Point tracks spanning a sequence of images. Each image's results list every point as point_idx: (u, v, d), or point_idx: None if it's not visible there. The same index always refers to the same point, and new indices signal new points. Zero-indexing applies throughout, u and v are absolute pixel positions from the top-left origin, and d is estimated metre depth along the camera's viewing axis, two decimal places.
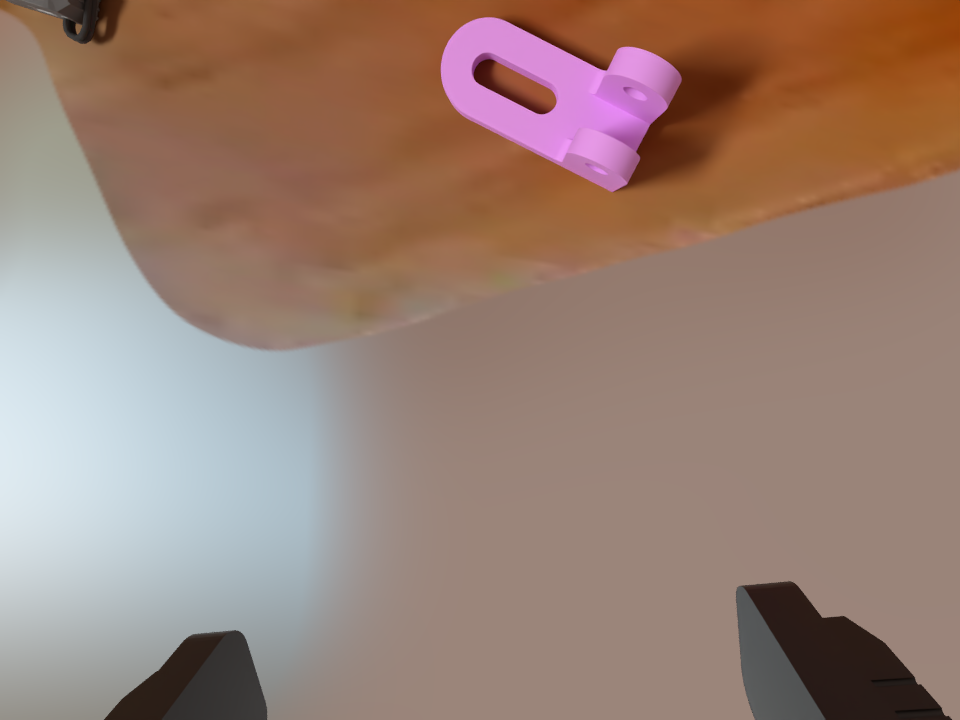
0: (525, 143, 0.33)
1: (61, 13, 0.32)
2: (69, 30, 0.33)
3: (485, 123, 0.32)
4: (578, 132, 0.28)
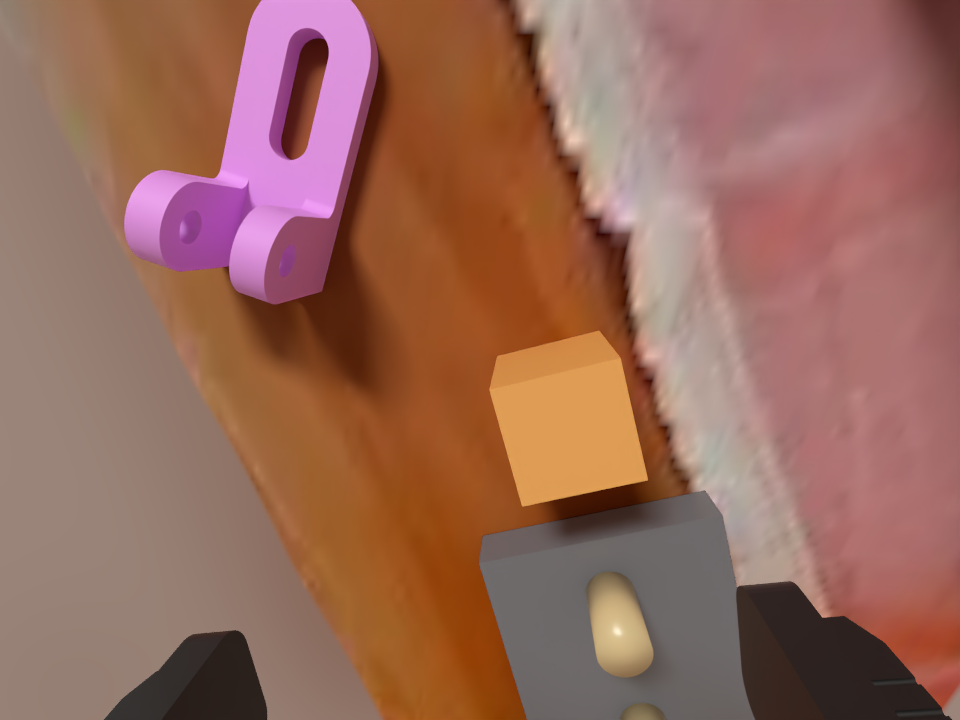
0: (231, 124, 0.24)
1: None
2: None
3: (242, 61, 0.23)
4: (184, 180, 0.21)
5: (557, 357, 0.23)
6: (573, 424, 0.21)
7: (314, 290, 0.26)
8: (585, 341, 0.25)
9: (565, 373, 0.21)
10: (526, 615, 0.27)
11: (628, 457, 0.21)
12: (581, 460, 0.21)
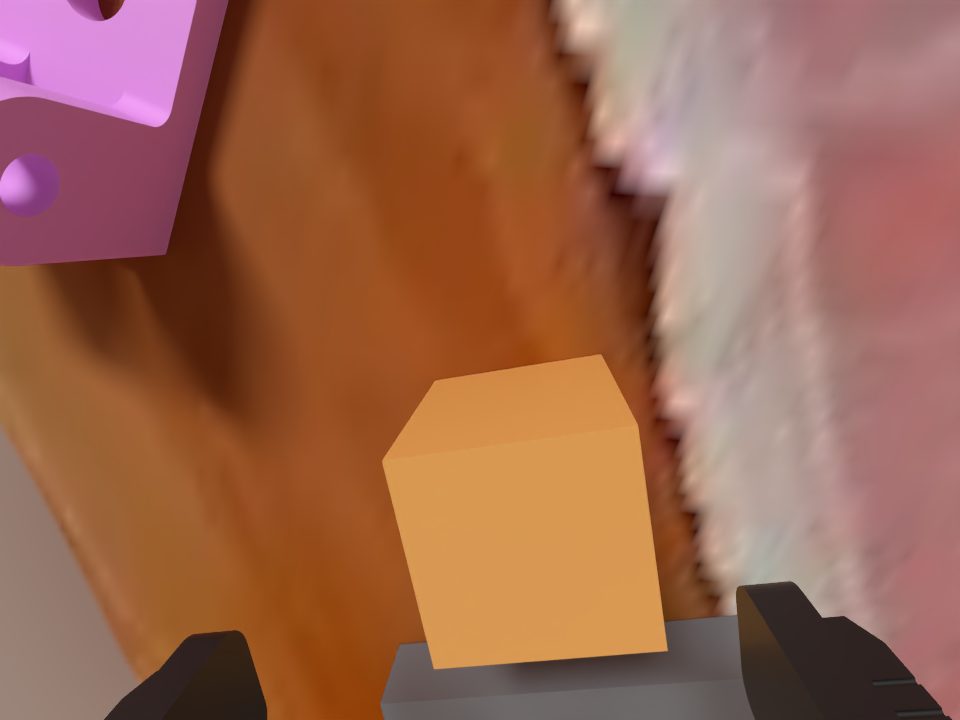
0: None
1: None
2: None
3: None
4: None
5: (523, 400, 0.13)
6: (536, 539, 0.11)
7: (142, 250, 0.16)
8: (576, 372, 0.15)
9: (528, 444, 0.11)
10: None
11: (635, 607, 0.11)
12: (546, 603, 0.11)
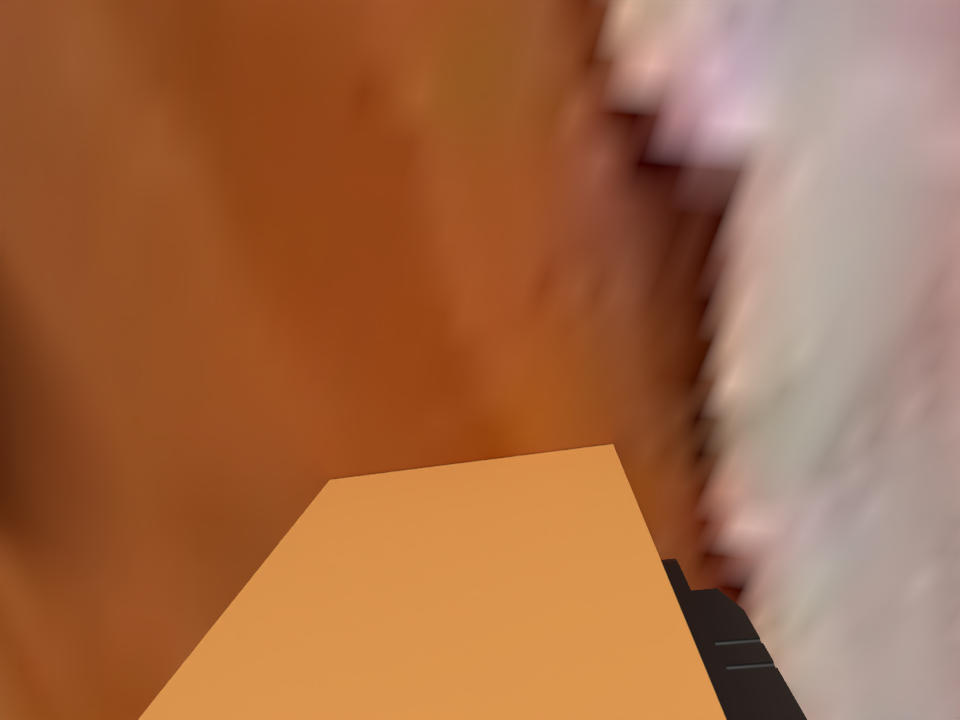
0: None
1: None
2: None
3: None
4: None
5: (460, 580, 0.06)
6: None
7: None
8: (570, 494, 0.08)
9: None
10: None
11: None
12: None
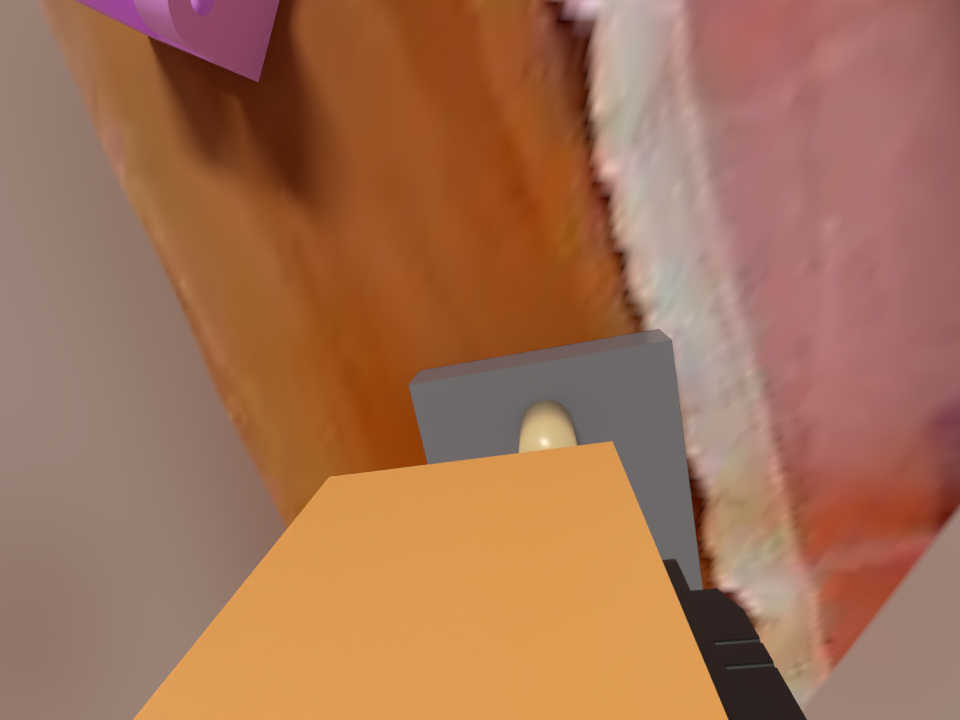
0: None
1: None
2: None
3: None
4: None
5: (460, 576, 0.06)
6: None
7: (247, 71, 0.24)
8: (570, 491, 0.08)
9: None
10: (456, 447, 0.25)
11: None
12: None
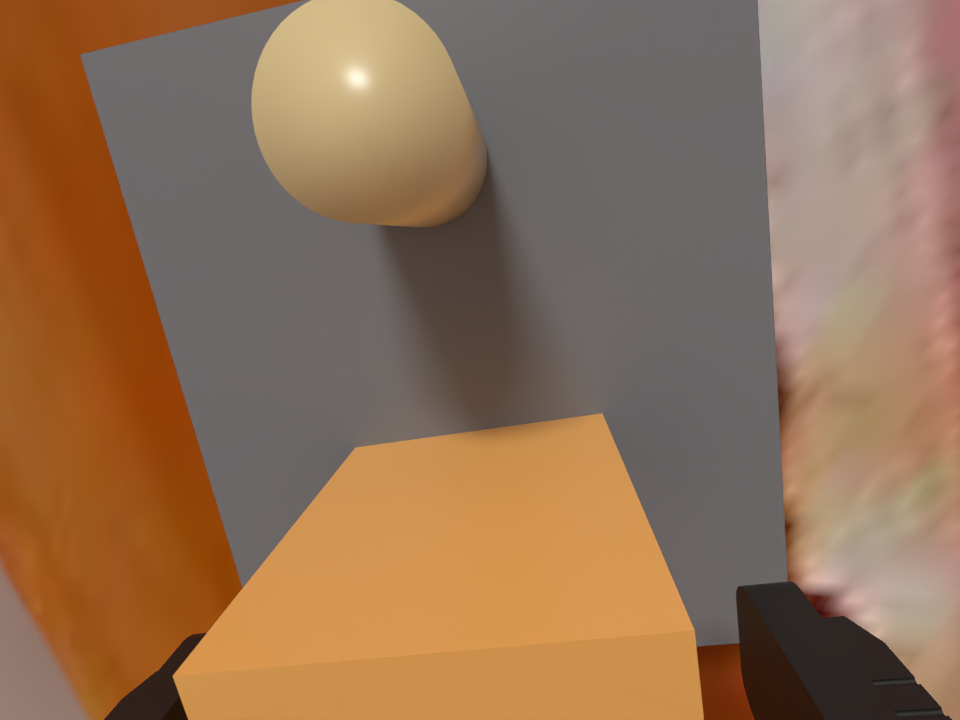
0: None
1: None
2: None
3: None
4: None
5: (474, 513, 0.08)
6: None
7: None
8: (565, 451, 0.09)
9: (463, 657, 0.05)
10: (209, 227, 0.10)
11: None
12: None
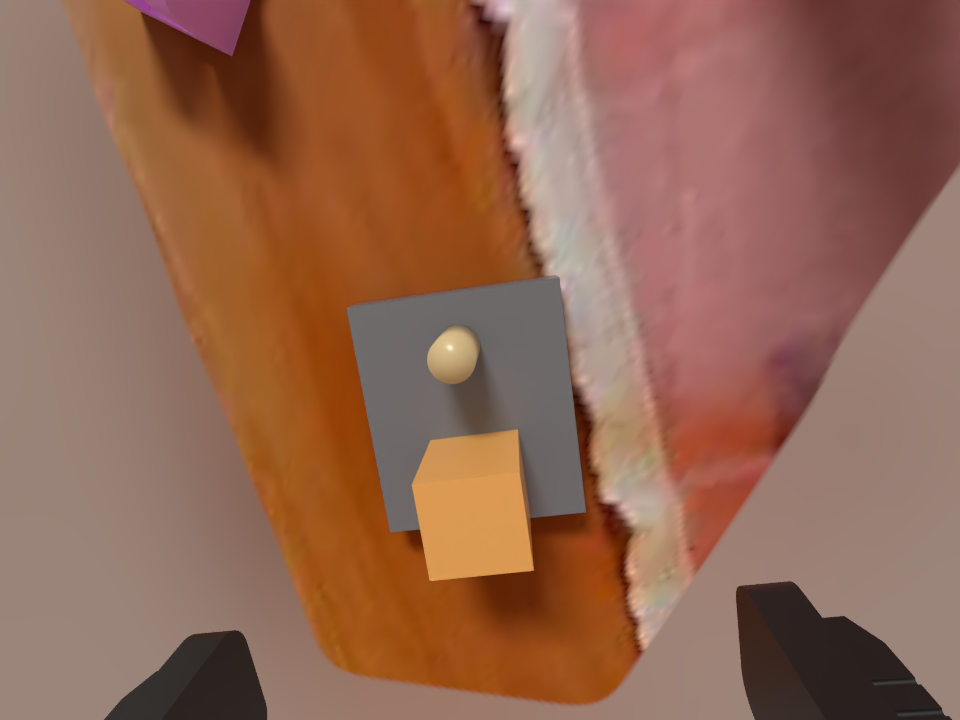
0: None
1: None
2: None
3: None
4: None
5: (475, 456, 0.28)
6: (477, 519, 0.26)
7: (222, 46, 0.29)
8: (502, 441, 0.29)
9: (474, 479, 0.25)
10: (384, 363, 0.30)
11: (519, 550, 0.26)
12: (481, 549, 0.26)
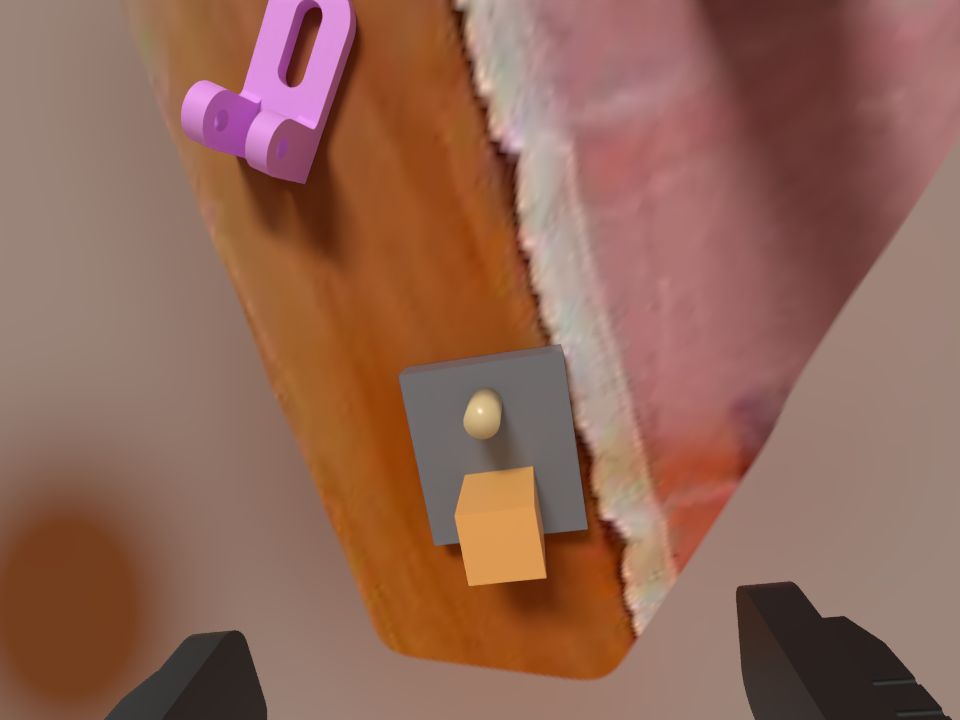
0: (252, 59, 0.36)
1: None
2: None
3: (264, 17, 0.35)
4: (221, 88, 0.32)
5: (500, 491, 0.36)
6: (503, 541, 0.34)
7: (299, 180, 0.37)
8: (521, 477, 0.38)
9: (501, 511, 0.34)
10: (428, 417, 0.39)
11: (535, 563, 0.35)
12: (507, 562, 0.35)
